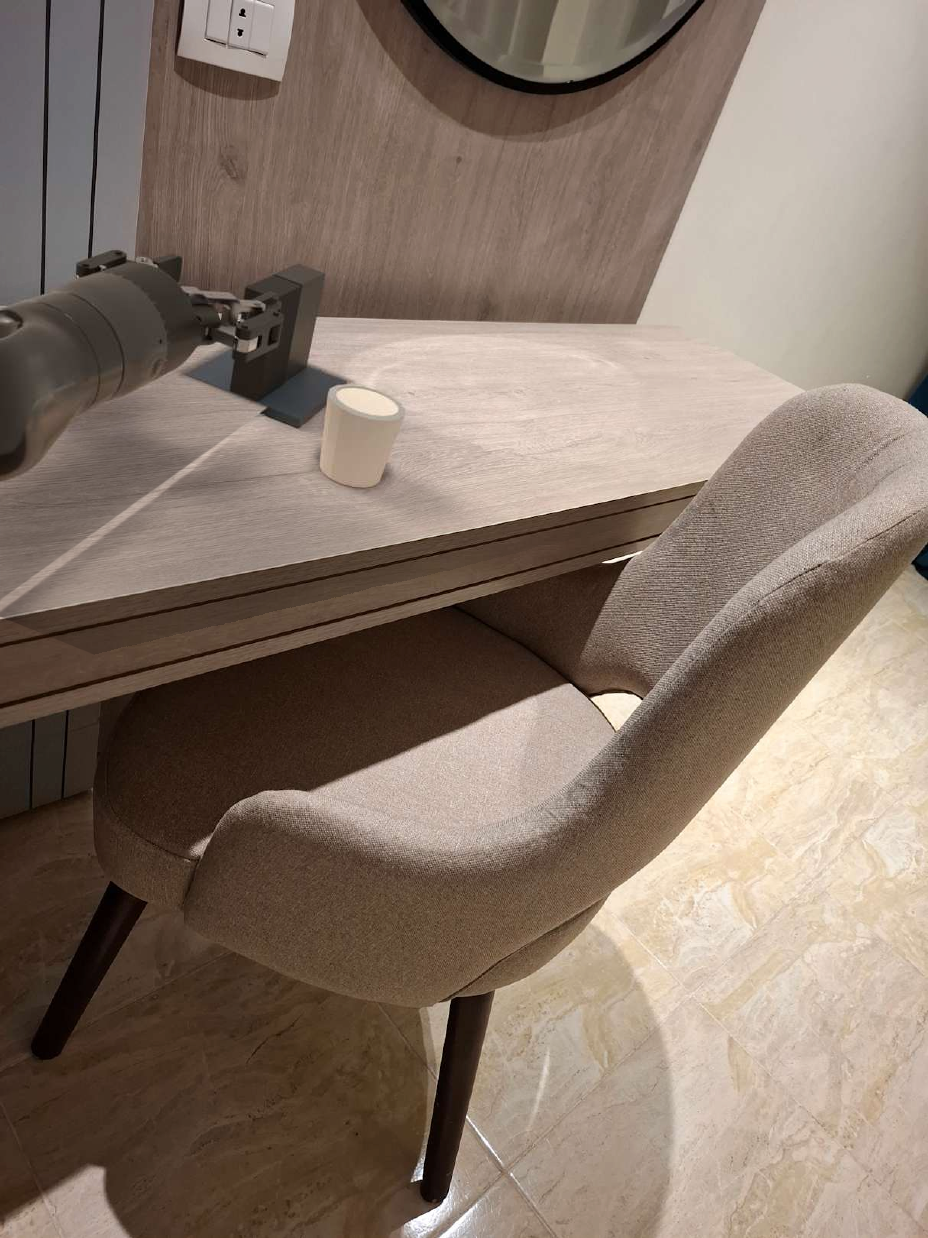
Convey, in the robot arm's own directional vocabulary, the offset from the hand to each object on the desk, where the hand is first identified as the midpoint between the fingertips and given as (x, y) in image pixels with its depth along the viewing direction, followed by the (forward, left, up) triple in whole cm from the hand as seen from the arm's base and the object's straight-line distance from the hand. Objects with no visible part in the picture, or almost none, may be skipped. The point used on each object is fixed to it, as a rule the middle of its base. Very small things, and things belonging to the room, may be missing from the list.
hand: (225, 285), depth 73 cm
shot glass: (+13, +3, -13) cm, 19 cm away
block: (0, +10, -12) cm, 16 cm away
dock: (0, +14, -13) cm, 19 cm away
